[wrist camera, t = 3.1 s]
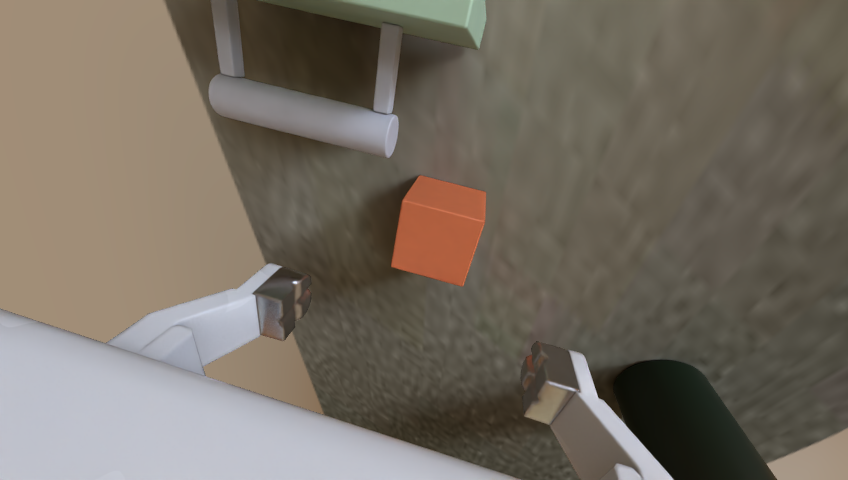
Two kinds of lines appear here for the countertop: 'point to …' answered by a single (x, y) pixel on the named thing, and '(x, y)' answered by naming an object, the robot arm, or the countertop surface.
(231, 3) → the drawer
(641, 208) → the countertop surface
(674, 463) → the wine bottle
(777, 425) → the countertop surface
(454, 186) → the block
